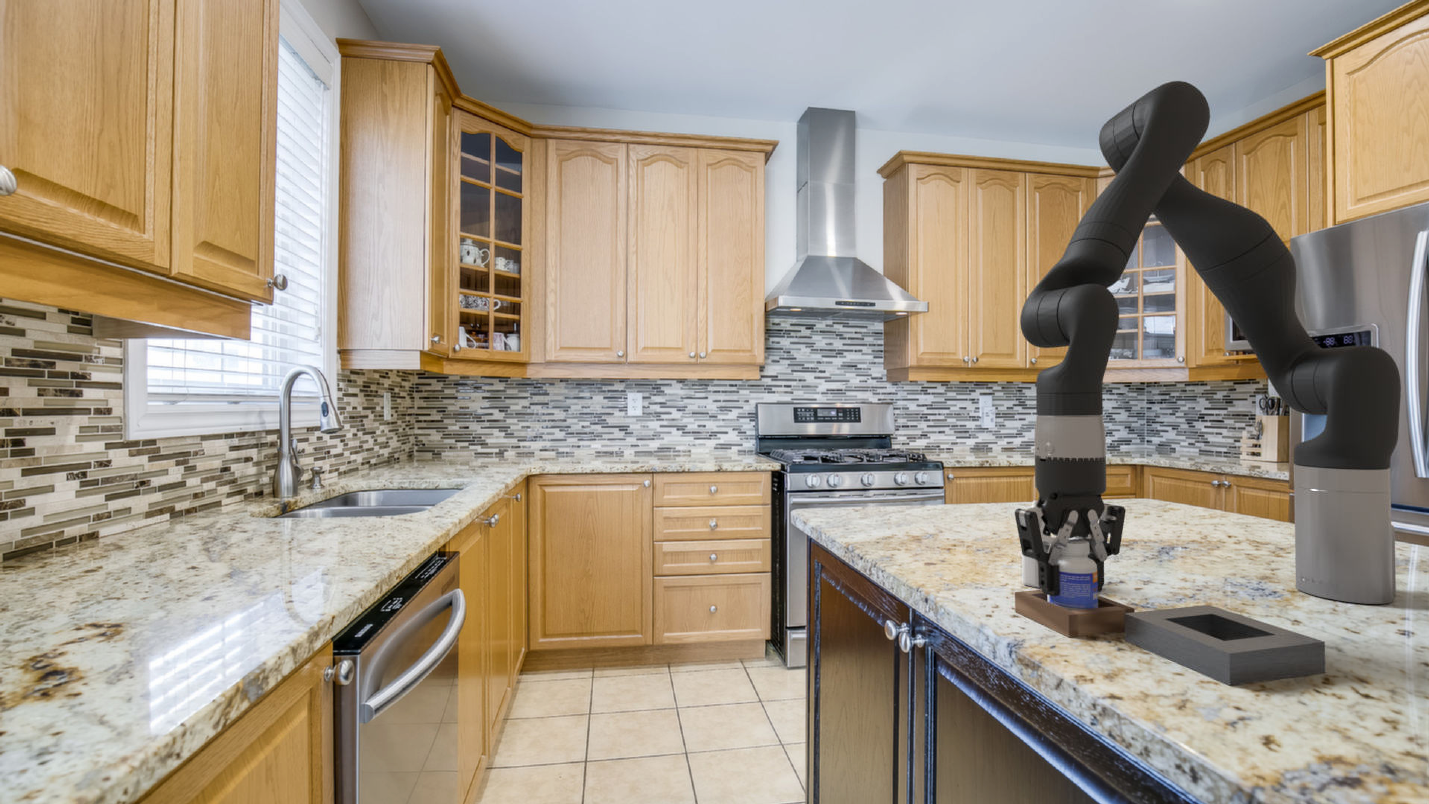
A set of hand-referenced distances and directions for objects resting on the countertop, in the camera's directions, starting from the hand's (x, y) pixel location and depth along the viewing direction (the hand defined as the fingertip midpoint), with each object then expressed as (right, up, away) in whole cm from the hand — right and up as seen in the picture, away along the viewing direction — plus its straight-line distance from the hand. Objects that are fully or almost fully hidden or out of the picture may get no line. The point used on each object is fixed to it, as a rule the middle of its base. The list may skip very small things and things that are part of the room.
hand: (1071, 591), depth 76 cm
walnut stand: (0, -3, 0) cm, 3 cm away
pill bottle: (0, -4, 0) cm, 4 cm away
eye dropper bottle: (+4, -4, +16) cm, 17 cm away
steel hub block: (+9, -3, -11) cm, 15 cm away
